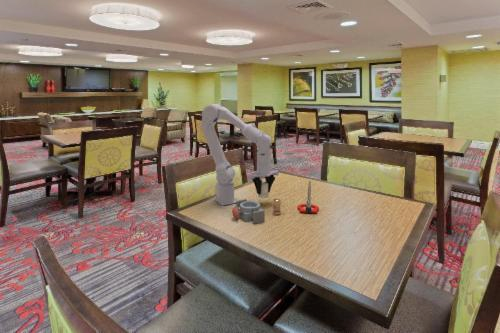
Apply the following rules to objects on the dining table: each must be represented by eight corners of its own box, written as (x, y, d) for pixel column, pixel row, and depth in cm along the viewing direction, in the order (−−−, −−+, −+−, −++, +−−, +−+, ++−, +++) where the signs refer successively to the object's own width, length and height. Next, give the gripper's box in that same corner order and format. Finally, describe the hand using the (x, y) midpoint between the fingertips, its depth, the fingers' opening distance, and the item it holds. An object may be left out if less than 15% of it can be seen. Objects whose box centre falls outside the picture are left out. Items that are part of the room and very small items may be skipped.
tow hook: (297, 205, 143) (297, 213, 133) (298, 175, 140) (298, 180, 131) (318, 207, 142) (319, 214, 132) (319, 176, 139) (321, 181, 129)
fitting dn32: (271, 212, 134) (271, 199, 133) (277, 211, 136) (278, 197, 134) (275, 215, 131) (275, 201, 130) (282, 214, 133) (282, 200, 131)
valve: (226, 213, 134) (226, 202, 132) (249, 208, 139) (249, 197, 138) (243, 226, 121) (243, 214, 120) (268, 220, 126) (268, 208, 125)
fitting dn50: (255, 195, 144) (256, 182, 143) (265, 193, 146) (265, 181, 145) (261, 198, 140) (261, 185, 138) (270, 196, 142) (271, 183, 141)
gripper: (253, 166, 133) (253, 198, 136) (282, 162, 139) (282, 192, 143) (245, 163, 139) (245, 193, 142) (273, 159, 145) (273, 188, 149)
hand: (263, 192), depth 143 cm, fingers closed on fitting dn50, 4 cm apart
